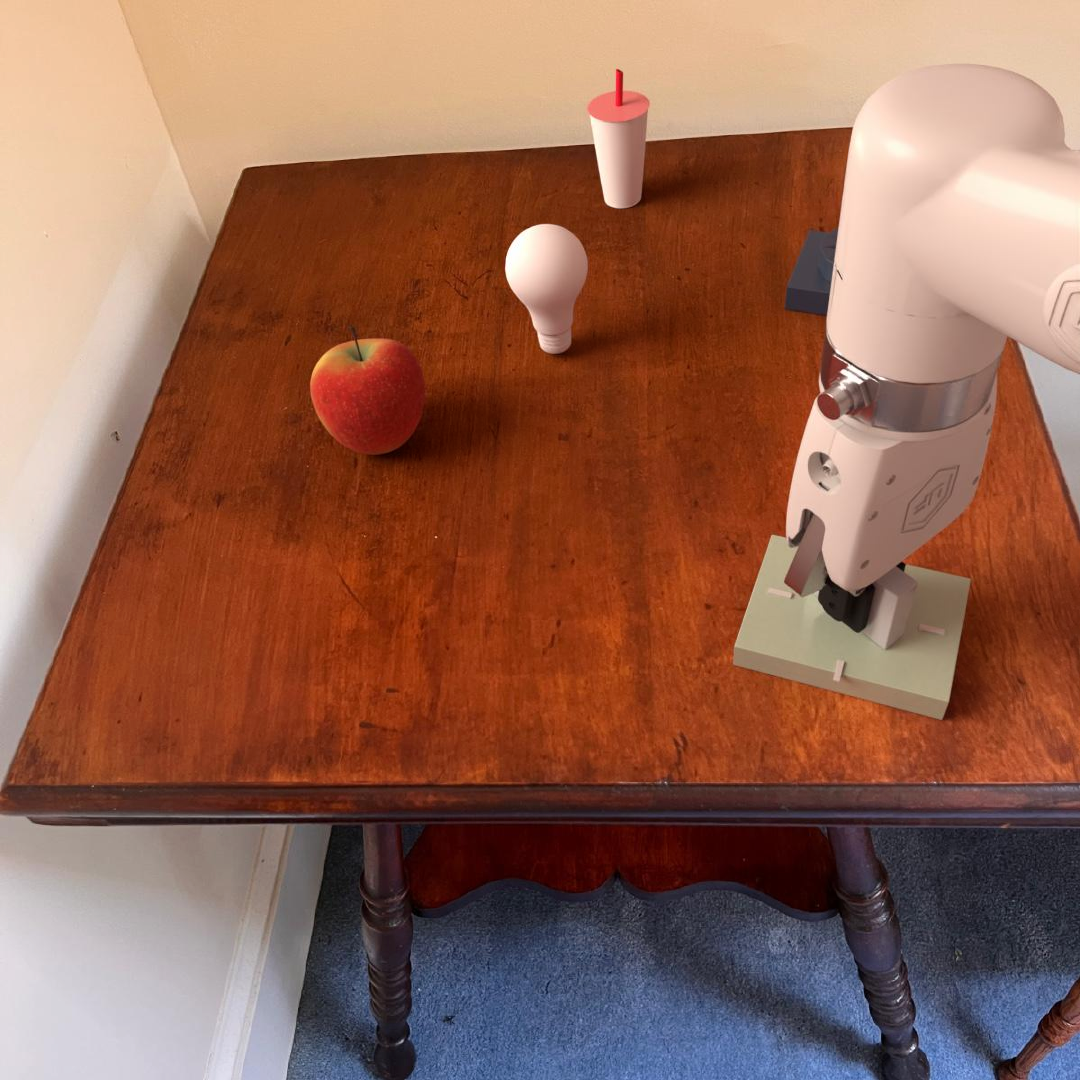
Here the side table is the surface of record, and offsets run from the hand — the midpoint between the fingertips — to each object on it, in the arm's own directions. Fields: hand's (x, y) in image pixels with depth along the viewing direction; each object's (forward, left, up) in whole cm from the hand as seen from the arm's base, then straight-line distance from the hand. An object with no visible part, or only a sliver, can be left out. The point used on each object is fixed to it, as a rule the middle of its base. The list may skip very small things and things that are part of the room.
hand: (856, 603), depth 60 cm
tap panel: (0, 0, -3) cm, 3 cm away
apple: (+36, -7, -3) cm, 37 cm away
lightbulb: (+27, -20, -3) cm, 34 cm away
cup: (+29, -42, -3) cm, 51 cm away
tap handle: (0, 0, -1) cm, 1 cm away
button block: (+6, -33, -3) cm, 34 cm away
